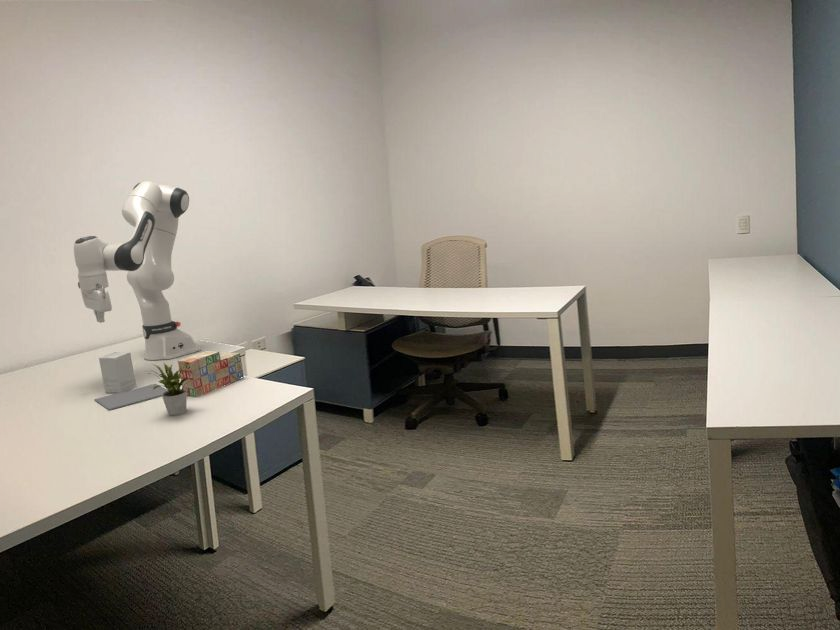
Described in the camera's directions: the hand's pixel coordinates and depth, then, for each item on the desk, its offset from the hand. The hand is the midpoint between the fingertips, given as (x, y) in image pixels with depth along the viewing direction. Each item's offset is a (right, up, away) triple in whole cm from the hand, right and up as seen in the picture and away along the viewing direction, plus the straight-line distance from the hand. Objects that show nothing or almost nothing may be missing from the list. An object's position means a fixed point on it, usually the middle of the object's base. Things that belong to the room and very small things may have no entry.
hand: (100, 322), depth 218 cm
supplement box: (+9, -24, -3) cm, 25 cm away
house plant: (+38, -27, -32) cm, 57 cm away
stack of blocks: (+43, -22, -8) cm, 49 cm away
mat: (+18, -25, -13) cm, 33 cm away
